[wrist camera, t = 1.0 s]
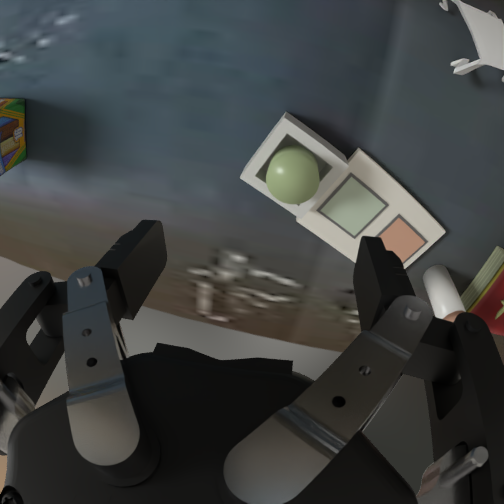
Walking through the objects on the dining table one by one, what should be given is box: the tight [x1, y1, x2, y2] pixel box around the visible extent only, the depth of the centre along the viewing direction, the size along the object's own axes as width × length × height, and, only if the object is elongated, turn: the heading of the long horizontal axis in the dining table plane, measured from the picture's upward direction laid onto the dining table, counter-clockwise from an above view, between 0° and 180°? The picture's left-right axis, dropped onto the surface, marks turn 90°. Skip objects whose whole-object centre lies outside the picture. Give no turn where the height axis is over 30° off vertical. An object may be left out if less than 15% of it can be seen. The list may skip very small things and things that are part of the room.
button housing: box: [240, 112, 349, 219], centre depth 28 cm, size 7×7×3 cm
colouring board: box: [296, 148, 446, 269], centre depth 31 cm, size 10×14×1 cm
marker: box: [423, 265, 466, 322], centre depth 30 cm, size 4×4×10 cm
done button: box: [266, 145, 319, 204], centre depth 26 cm, size 4×4×3 cm
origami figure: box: [439, 0, 504, 82], centre depth 16 cm, size 12×8×5 cm
